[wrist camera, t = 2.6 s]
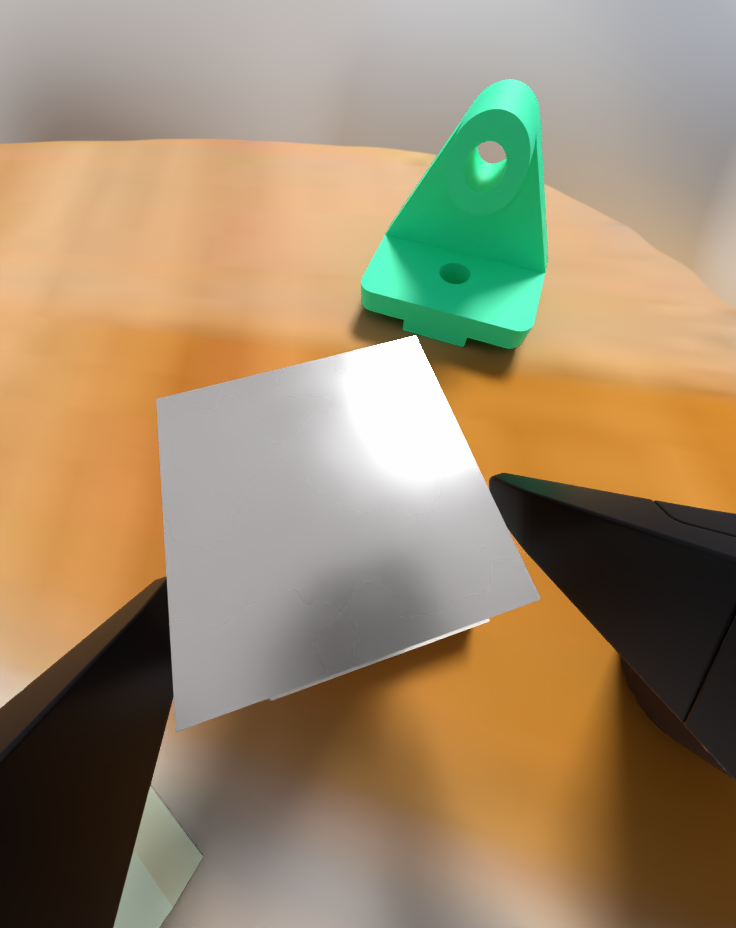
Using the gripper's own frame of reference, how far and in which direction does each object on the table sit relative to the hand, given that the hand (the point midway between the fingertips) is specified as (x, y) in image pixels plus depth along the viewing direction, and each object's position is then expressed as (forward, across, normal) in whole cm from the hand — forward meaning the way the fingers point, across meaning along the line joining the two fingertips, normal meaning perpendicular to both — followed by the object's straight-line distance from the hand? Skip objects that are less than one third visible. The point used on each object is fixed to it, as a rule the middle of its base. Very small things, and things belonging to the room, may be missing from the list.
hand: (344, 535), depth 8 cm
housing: (+5, 0, +4) cm, 7 cm away
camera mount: (+18, -12, -5) cm, 22 cm away
